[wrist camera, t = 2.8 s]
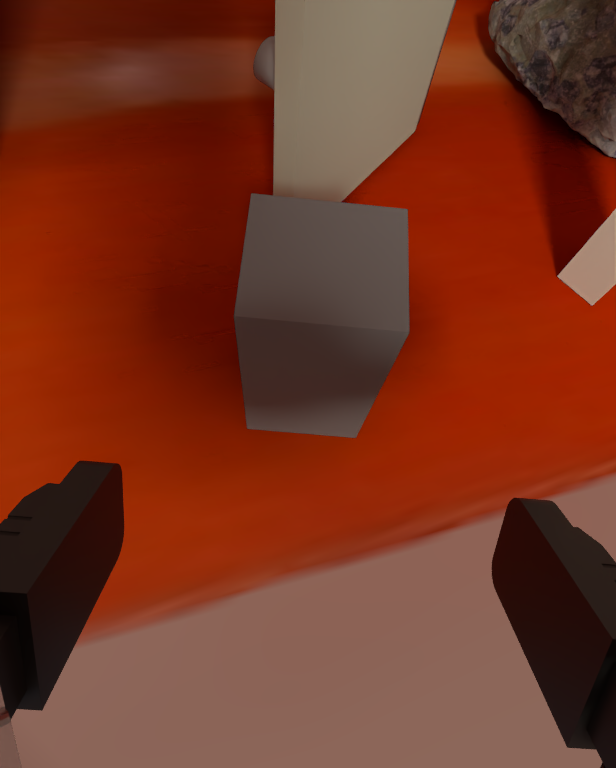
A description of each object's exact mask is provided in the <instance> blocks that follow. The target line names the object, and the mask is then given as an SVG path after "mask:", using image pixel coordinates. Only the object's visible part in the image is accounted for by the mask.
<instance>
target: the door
mask: <svg viewBox="0 0 616 768" xmlns="http://www.w3.org/2000/svg"><path fill="white" fill-rule="evenodd" d="M455 3H456V0H275V37H274V36H271V37H268V38H267V39H266V40H264V41H263V43H262V44H261V45H260V47H259V49H258V51H257V53H256V56H255V60H254V66H253V70H254V75H255V77H256V78H257V79H258V80H259V81H261V82H263V83H264V84H266V85H267V86H269V87H270V88H272V89H274V179H273V196H283V197H293V198H302V199H312V200H322V201H332V202H341V201H343V200H344V199H345V198H346V197H347V196H348V195H349V194H350V193H351V192H352V191H353V190H354V189H355V188H356V187H357V186H358V185H359V184H360V183H361V182H362V181H363V180H364V179H366V178H367V177H368V176H369V175H370V174H371V173H372V172H373V171H374V170H375V169H376V168H377V167H378V166H379V165H380V164H381V163H382V162H383V161H384V160H385V159H386V158H387V157H389V156H390V155H391V154H392V153H393V152H394V151H395V150H396V149H397V148H398V147H399V146H400V145H401V144H402V143H403V142H404V141H405V140H406V139H407V138H408V137H409V136H410V135H412V134H413V133H414V132H415V129H416V126H417V125H418V123H419V120H420V117H421V114H422V110H423V107H424V104H425V101H426V97H427V94H428V91H429V88H430V84H431V81H432V78H433V75H434V71H435V68H436V65H437V62H438V58H439V55H440V52H441V49H442V45H443V42H444V39H445V36H446V33H447V29H448V26H449V23H450V20H451V16H452V13H453V10H454V7H455Z"/></svg>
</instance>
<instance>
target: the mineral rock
mask: <svg viewBox="0 0 616 768" xmlns="http://www.w3.org/2000/svg"><path fill="white" fill-rule="evenodd" d="M488 29H489V34H490V37H491V39H492V41H493V42H494V43H495V51H496V53H497V54H498V55H499V56H500V57H501V59H502V60H503V62H504V63H505V65H506V66H507V68H508V69H509V70H510V71H511V72H512V73H513V74H514V75H515V77H516V80H518V81H520V82H521V83H522V84H523V85H524V86H525V87H526V88H527V89H529V90H530V91H531V93H532V94H533V95H535V96H536V97H537V98H538V100H539V101H540V102H541V103H542V105H543V107H544V108H545V109H548V110H551V111H553V112H556V113H558V114H559V115H560V116H561V117H562V119H563V120H564V121H566V122H567V124H568V125H569V127H570V128H571V129H573V130H575V131H578V132H579V133H580V134H581V135H582V136H584V137H586V139H587V140H588V141H590V142H591V143H592V144H594V145H595V146H597V147H598V148H600V149H601V150H602V151H603V153H604V154H606V155H608V156H611V157H615V158H616V0H500V1H499V2H496V1H494V2H493V4H492V6H491V10H490V14H489V26H488Z"/></svg>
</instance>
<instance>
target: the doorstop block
mask: <svg viewBox="0 0 616 768" xmlns="http://www.w3.org/2000/svg"><path fill="white" fill-rule="evenodd" d="M234 322H235V331H236V339H237V347H238V356H239V364H240V373H241V381H242V389H243V398H244V406H245V415H246V423H247V429H256V430H268V431H280V432H292V433H304V434H315V435H327V436H339V437H351V438H356V436H357V434H358V432H359V430H360V428H361V426H362V424H363V422H364V420H365V418H366V416H367V415H368V413H369V411H370V409H371V407H372V405H373V403H374V401H375V399H376V397H377V395H378V393H379V391H380V389H381V387H382V385H383V383H384V381H385V379H386V377H387V375H388V373H389V371H390V369H391V367H392V366H393V364H394V362H395V360H396V358H397V356H398V354H399V352H400V350H401V348H402V346H403V344H404V342H405V340H406V338H407V336H408V334H409V268H408V209H400V208H391V207H381V206H371V205H361V204H351V203H342V202H332V201H322V200H312V199H302V198H293V197H283V196H273V195H263V194H253V193H251V199H250V206H249V213H248V220H247V227H246V234H245V241H244V248H243V255H242V262H241V269H240V276H239V283H238V290H237V297H236V304H235V311H234Z"/></svg>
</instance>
